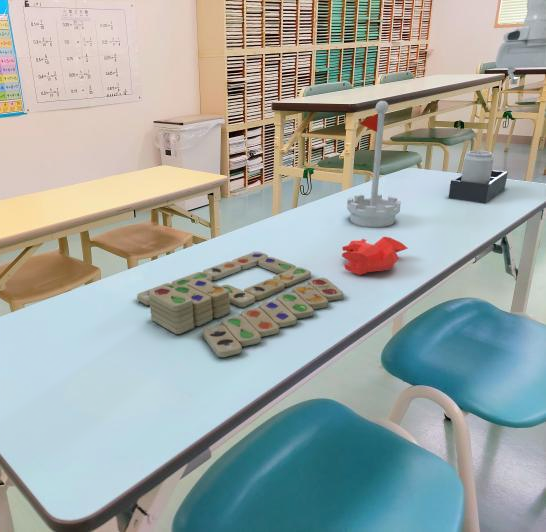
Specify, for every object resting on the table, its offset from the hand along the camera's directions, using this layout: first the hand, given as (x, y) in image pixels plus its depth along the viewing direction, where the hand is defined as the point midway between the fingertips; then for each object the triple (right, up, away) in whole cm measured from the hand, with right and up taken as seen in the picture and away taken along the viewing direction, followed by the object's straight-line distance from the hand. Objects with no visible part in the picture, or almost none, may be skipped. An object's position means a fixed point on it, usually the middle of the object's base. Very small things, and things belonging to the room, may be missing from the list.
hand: (531, 84), depth 151 cm
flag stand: (-52, -41, -15) cm, 68 cm away
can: (-17, -32, +1) cm, 36 cm away
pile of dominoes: (-89, -59, -55) cm, 120 cm away
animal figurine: (-60, -53, -42) cm, 90 cm away
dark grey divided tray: (-14, -31, +4) cm, 34 cm away
